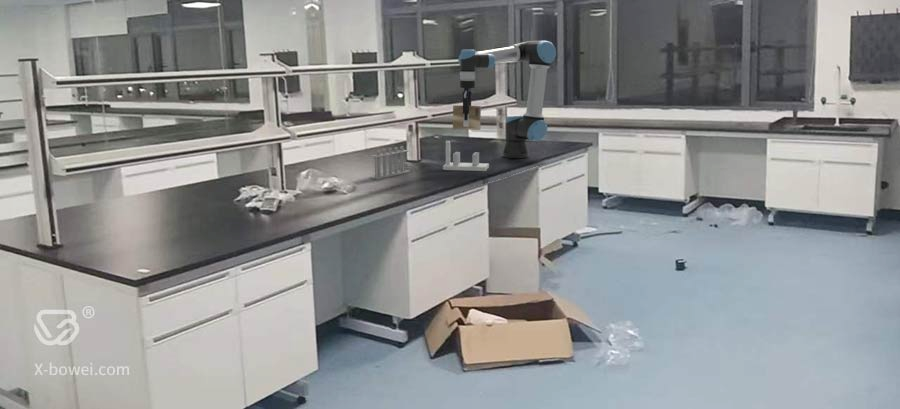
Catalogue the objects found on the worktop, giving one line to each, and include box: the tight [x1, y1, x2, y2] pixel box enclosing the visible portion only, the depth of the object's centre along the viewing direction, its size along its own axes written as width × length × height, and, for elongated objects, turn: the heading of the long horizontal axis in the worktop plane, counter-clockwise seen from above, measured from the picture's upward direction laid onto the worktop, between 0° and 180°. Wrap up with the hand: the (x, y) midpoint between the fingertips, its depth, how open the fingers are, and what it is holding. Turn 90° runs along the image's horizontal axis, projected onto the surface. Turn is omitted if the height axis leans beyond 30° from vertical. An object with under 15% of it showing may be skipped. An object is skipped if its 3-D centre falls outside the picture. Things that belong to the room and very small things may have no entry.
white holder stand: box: [442, 140, 490, 172], centre depth 389 cm, size 12×22×14 cm, turn 79°
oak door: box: [452, 104, 482, 131], centre depth 390 cm, size 4×14×12 cm, turn 78°
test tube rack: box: [369, 146, 411, 180], centre depth 371 cm, size 25×4×13 cm, turn 145°
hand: (466, 126), depth 391 cm, fingers closed on oak door, 2 cm apart
